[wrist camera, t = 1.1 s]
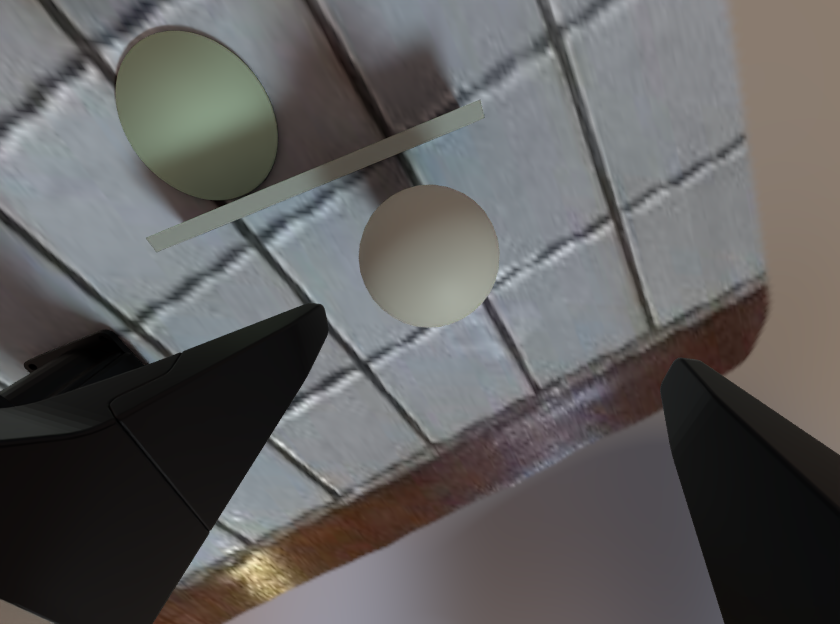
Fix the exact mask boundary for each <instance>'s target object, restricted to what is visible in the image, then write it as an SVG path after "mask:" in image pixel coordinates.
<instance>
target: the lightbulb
mask: <svg viewBox="0 0 840 624" xmlns="http://www.w3.org/2000/svg"><path fill="white" fill-rule="evenodd" d="M499 253H500V252H499V245H498V239H497V236H496V233H495V230H494V227H493V225H492V223H491V221H490V220H489V218H488V216H487V215H486V213H485V211H484V210H483V209H482V208H481V207H480V206H479V205H478V204H477V203H476V202H475V201H474V200H472V199H471V198H469V197H468V196H466V195H465V194H463V193H461V192H459V191H456V190H454V189H451V188H448V187H444V186H438V185H418V186H415V187H411V188H407V189H404V190H402V191H400V192H398V193H396V194H394V195H392V196H391V197H389V198H388V199H387V200H386V201H384V202H383V203H382V204H381V205H380V206H379V207H378V208H377V209H376V211H375V212H374V213H373V214H372V215H371V217H370V219H369V221H368V223H367V225H366V227H365V229H364V232H363V235H362V239H361V242H360V249H359V264H360V272H361V275H362V278H363V281H364V284H365V286H366V288H367V290H368V291H369V293H370V295H371V297H372V298H373V300H374V301H375V302H376V303H377V304H378V305H379V306H380V308H381V309H383V310H384V311H385V312H387V313H388V314H389V315H391V316H392V317H394V318H395V319H397V320H399V321H401V322H403V323H406V324H409V325H413V326H417V327H428V328H429V327H441V326H445V325H448V324H452V323H454V322H457V321H459V320H461V319H463V318H465V317H466V316H468V315H469V314H471V313H472V312H473V311H475V310H476V309H477V308H478V307H479V306H480V305H481V304H482V303H483V301H484V300H485V299H486V297H487V296H488V294H489V293H490V291H491V289H492V287H493V285H494V283H495V280H496V276H497V272H498V268H499Z"/></svg>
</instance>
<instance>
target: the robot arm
mask: <svg viewBox="0 0 840 624" xmlns="http://www.w3.org/2000/svg"><path fill="white" fill-rule="evenodd" d="M328 331H329V327H328V322H327V317H326V313H325V309H324V307H323V305H321V304H315V303H307V304H304V305H302V306H299V307H296V308H294V309H291V310H289V311H286V312H283V313H281V314H278V315H276V316H273V317H271V318H268V319H265V320H263V321H260V322H258V323H255V324H252V325H250V326H247V327H245V328H242V329H240V330H237V331H234V332H232V333H229V334H227V335H224V336H221V337H219V338H216V339H214V340H211V341H208V342H206V343H203V344H201V345H198V346H196V347H193V348H190V349H188V350H185V351H183V352H182V353H177V354H175V355H172V356H169V357H167V358H164V359H162V360H159V361H156V362H154V363H151V364H148V365H146V366H144V365H143V364H142V363H141V362H140V361H139V360H138V359H137V358H136V357H135V356H134V355H133V353H132V352H131V351H130V350H129V349H128V348H127V347H126V346H125V345H124V344H123V343H122V341H121V340H120V339H119V338H118V337H117V336H116V335H115V334H114V333H113V332H112V331H109V330H102V331H99V332H97V333H94V334H92V335H89V336H87V337H84V338H82V339H79V340H77V341H74V342H72V343H69V344H67V345H64V346H62V347H59V348H57V349H54V350H52V351H49V352H47V353H44V354H42V355H39V356H37V357H34V358H32V359H30V360H28V361H26V362H25V363H24V367H25V368H26V370H28V371H29V372H30V374H28V375H27V376H25V377H23V378H22V379H20V380H18V381H17V382H15V383H13V384H12V385H10V386H8V387H7V388H5V389H3V390H2V391H0V624H153V622H154V620H155V619H156V617H157V616H158V614H159V613H160V611H161V609H162V608H163V606H164V605H165V603H166V601H167V600H168V598H169V597H170V595H171V593H172V592H173V590H174V589H175V587H176V585H177V584H178V582H179V581H180V579H181V577H182V576H183V574H184V573H185V571H186V570H187V568H188V566H189V565H190V563H191V562H192V560H193V558H194V557H195V555H196V554H197V552H198V550H199V549H200V547H201V546H202V544H203V542H204V541H205V539H206V538H207V536H208V535H209V531H210V530H211V529H212V528H213V526H214V525H215V523H216V521H217V520H218V518H219V517H220V515H221V513H222V512H223V510H224V509H225V507H226V505H227V504H228V502H229V501H230V499H231V497H232V496H233V494H234V493H235V491H236V490H237V488H238V486H239V485H240V483H241V482H242V480H243V478H244V477H245V475H246V474H247V472H248V470H249V469H250V467H251V466H252V464H253V462H254V461H255V459H256V458H257V456H258V454H259V453H260V451H261V450H262V448H263V447H264V445H265V443H266V442H267V440H268V439H269V437H270V435H271V434H272V432H273V431H274V429H275V427H276V426H277V424H278V423H279V421H280V419H281V418H282V416H283V415H284V413H285V411H286V410H287V408H288V407H289V405H290V404H291V402H292V400H293V399H294V397H295V396H296V394H297V392H298V391H299V389H300V388H301V386H302V384H303V383H304V381H305V379H306V378H307V376H308V374H309V372H310V370H311V368H312V366H313V364H314V362H315V360H316V358H317V356H318V354H319V352H320V350H321V348H322V345H323V343H324V341H325V339H326V337H327V335H328ZM104 336H105V337H107V339H106V338H105V337H104ZM660 392H661V398H662V404H663V409H664V415H665V420H666V426H667V432H668V437H669V443H670V448H671V452H672V456H673V459H674V463H675V466H676V469H677V472H678V476H679V479H680V482H681V486H682V489H683V492H684V495H685V498H686V502H687V505H688V508H689V511H690V514H691V518H692V521H693V524H694V527H695V531H696V534H697V537H698V540H699V543H700V547H701V550H702V553H703V556H704V559H705V563H706V566H707V569H708V572H709V576H710V579H711V582H712V585H713V589H714V592H715V595H716V598H717V601H718V604H719V608H720V611H721V614H722V618H723V620H724V624H840V455H839V454H837V453H836V452H834V451H833V450H831V449H830V448H828V447H827V446H826V445H824V444H823V443H821V442H820V441H818V440H817V439H815V438H814V437H812V436H811V435H809V434H808V433H806V432H805V431H803V430H802V429H800V428H799V427H797V426H796V425H794V424H793V423H792V422H790V421H789V420H787V419H785V418H784V417H783V416H781V415H780V414H778V413H777V412H775V411H774V410H772V409H771V408H769V407H768V406H766V405H765V404H763V403H762V402H761V401H759V400H758V399H756V398H754V397H753V396H752V395H750V394H748V393H747V392H746V391H744V390H743V389H741V388H740V387H738V386H737V385H735V384H734V383H732V382H731V381H729V380H728V379H727V378H725V377H724V376H722V375H721V374H719V373H718V372H716V371H715V370H713V369H712V368H710V367H709V366H707V365H706V364H704V363H703V362H701V361H699V360H694V359H687V358H678V359H676V360H675V361H674V362H673V364H672V365H671V367H670V369H669V371H668V373H667V374H666V376H665V378H664V380H663V381H662V384H661V389H660Z"/></svg>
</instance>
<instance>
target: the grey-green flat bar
mask: <svg viewBox="0 0 840 624" xmlns="http://www.w3.org/2000/svg"><path fill="white" fill-rule="evenodd" d="M483 118H485V117H484V113H483V109H482V105H481V101H480V100H478V101H476V102H473V103H471V104H468V105H466V106H463V107H461V108H459V109H456V110H454V111H451V112H449V113H447V114H444V115H442V116H439V117H437V118H434V119H432V120H430V121H427V122H425V123H422V124H420V125H418V126H415V127H413V128H410V129H408V130H405V131H403V132H401V133H398V134H396V135H393V136H391V137H388V138H386V139H384V140H381V141H379V142H376V143H374V144H372V145H369V146H367V147H364V148H362V149H359V150H357V151H355V152H352V153H350V154H347V155H345V156H343V157H340V158H338V159H335V160H333V161H330V162H328V163H326V164H323V165H321V166H318V167H316V168H314V169H311V170H309V171H306V172H304V173H301V174H299V175H297V176H294V177H292V178H289V179H287V180H285V181H282V182H280V183H277V184H275V185H272V186H270V187H268V188H265V189H263V190H260V191H258V192H255V193H253V194H251V195H248V196H246V197H243V198H241V199H239V200H236V201H234V202H231V203H229V204H226V205H224V206H222V207H219V208H217V209H214V210H212V211H210V212H207V213H205V214H202V215H200V216H197V217H195V218H193V219H190V220H188V221H185V222H183V223H181V224H178V225H176V226H173V227H171V228H168V229H166V230H164V231H161V232H159V233H156V234H154V235H152V236H149V237H147V238H146V239H147V240H148V242H149V243H150V244H151V246H152V247H153V248H154V250H155V251H156V252H159V251H161V250H164V249H166V248H169V247H171V246H174V245H176V244H178V243H181V242H183V241H186V240H188V239H191V238H193V237H196V236H198V235H201V234H203V233H206V232H208V231H211V230H213V229H215V228H218V227H220V226H223V225H225V224H228V223H230V222H233V221H235V220H237V219H240V218H242V217H245V216H247V215H250V214H252V213H254V212H257V211H259V210H262V209H264V208H267V207H269V206H272V205H274V204H276V203H279V202H281V201H284V200H286V199H289V198H291V197H294V196H296V195H298V194H301V193H303V192H306V191H308V190H311V189H313V188H315V187H318V186H320V185H323V184H325V183H328V182H330V181H333V180H335V179H337V178H340V177H342V176H345V175H347V174H350V173H352V172H355V171H357V170H359V169H362V168H364V167H367V166H369V165H372V164H374V163H376V162H379V161H381V160H384V159H386V158H389V157H391V156H394V155H396V154H398V153H401V152H403V151H406V150H408V149H411V148H413V147H416V146H418V145H420V144H423V143H425V142H428V141H430V140H433V139H435V138H437V137H440V136H442V135H445V134H447V133H450V132H452V131H455V130H457V129H459V128H462V127H464V126H467V125H469V124H471V123H474V122H476V121H478V120H481V119H483Z"/></svg>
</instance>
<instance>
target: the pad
mask: <svg viewBox="0 0 840 624" xmlns="http://www.w3.org/2000/svg"><path fill="white" fill-rule="evenodd" d="M116 104H117V110H118V115H119V119H120V122H121V125H122V127H123V130H124V132H125V134H126V136H127V139H128V141H129V142H130V144H131V146H132V147H133V149H134V151H135V152H136V153H137V155H138V156H139V157H140V159H141V160H142V161H143V162H144V163H145V164H146V166H147V167H148V168H149V169H150V170H151V171H152V172H153V173H155V174H156V175H157V176H158V177H159V178H160V179H162V180H163V181H165V182H166V183H167V184H169V185H170V186H172V187H174V188H176V189H177V190H179V191H181V192H184V193H186V194H188V195H191V196H194V197H197V198H202V199H207V200H227V199H233V198H237V197H240V196H243V195H245V194H247V193H249V192H251V191H253V190H254V189H255V188H257V187H258V186H259V185H260V184H261V183H262V182H263V181H264V180H265V178H266V177H267V176H268V174H269V172H270V171H271V169H272V167H273V164H274V161H275V158H276V154H277V148H278V129H277V123H276V117H275V114H274V111H273V107H272V105H271V102H270V100H269V98H268V95H267V94H266V92H265V90H264V88H263V86H262V85H261V83H260V82H259V80H258V79H257V77H256V76H255V75H254V73H253V72H252V71H251V70H250V69H249V68H248V66H247V65H246V64H245V63H243V62H242V61H241V60H240V59H239V58H238V57H237V56H236V55H234V54H233V53H232V52H230V51H229V50H228V49H226V48H225V47H223V46H222V45H220V44H218V43H217V42H215V41H213V40H211V39H209V38H206V37H204V36H201V35H198V34H195V33H191V32H184V31H165V32H159V33H156V34H153V35H150V36H148V37H146V38H144V39H142V40H141V41H139V42H138V43H137V44H136V45H135V46H133V47H132V48H131V50H130V51H129V52H128V53H127V55H126V56H125V58H124V60H123V62H122V64H121V66H120V69H119V72H118V76H117V81H116Z"/></svg>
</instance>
